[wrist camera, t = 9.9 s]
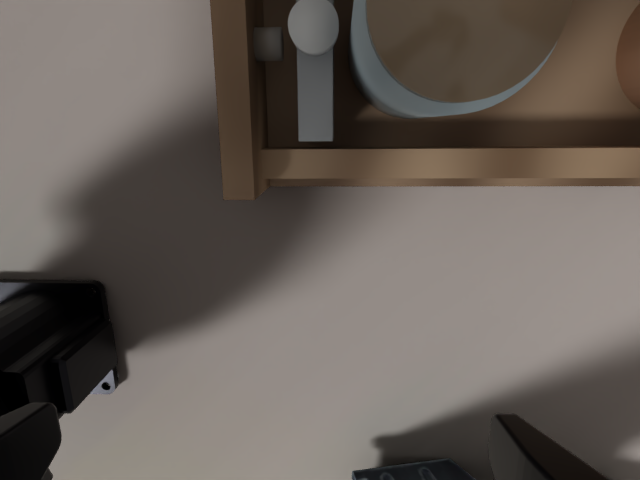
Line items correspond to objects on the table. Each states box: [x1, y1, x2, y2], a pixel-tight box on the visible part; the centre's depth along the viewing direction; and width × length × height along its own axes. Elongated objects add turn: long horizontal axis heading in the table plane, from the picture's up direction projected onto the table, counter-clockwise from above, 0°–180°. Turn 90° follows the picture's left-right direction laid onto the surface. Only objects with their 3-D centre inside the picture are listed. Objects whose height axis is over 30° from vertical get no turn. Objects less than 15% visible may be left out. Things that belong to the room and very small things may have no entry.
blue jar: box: [348, 0, 572, 119], centre depth 14 cm, size 6×6×8 cm
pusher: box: [288, 0, 339, 141], centre depth 16 cm, size 2×7×5 cm, turn 0°
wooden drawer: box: [210, 0, 640, 200], centre depth 16 cm, size 22×12×4 cm, turn 90°
